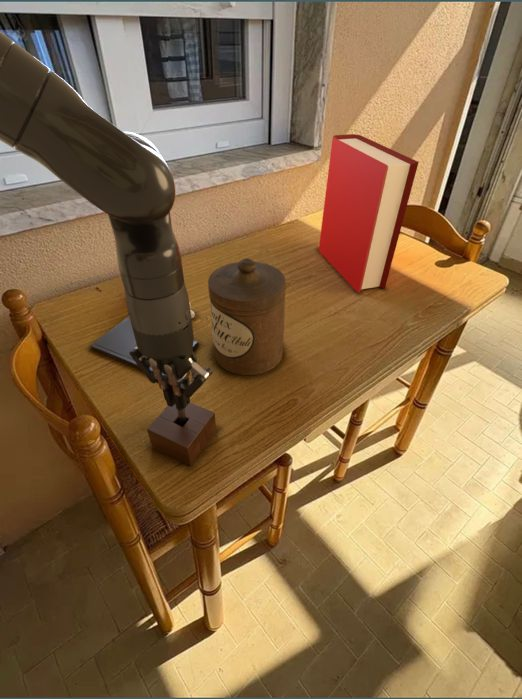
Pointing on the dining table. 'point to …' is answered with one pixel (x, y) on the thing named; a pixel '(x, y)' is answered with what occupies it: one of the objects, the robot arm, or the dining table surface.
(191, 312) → the pawn
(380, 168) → the book
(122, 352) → the plate
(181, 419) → the stylus
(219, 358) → the wooden container
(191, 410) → the stylus stand
